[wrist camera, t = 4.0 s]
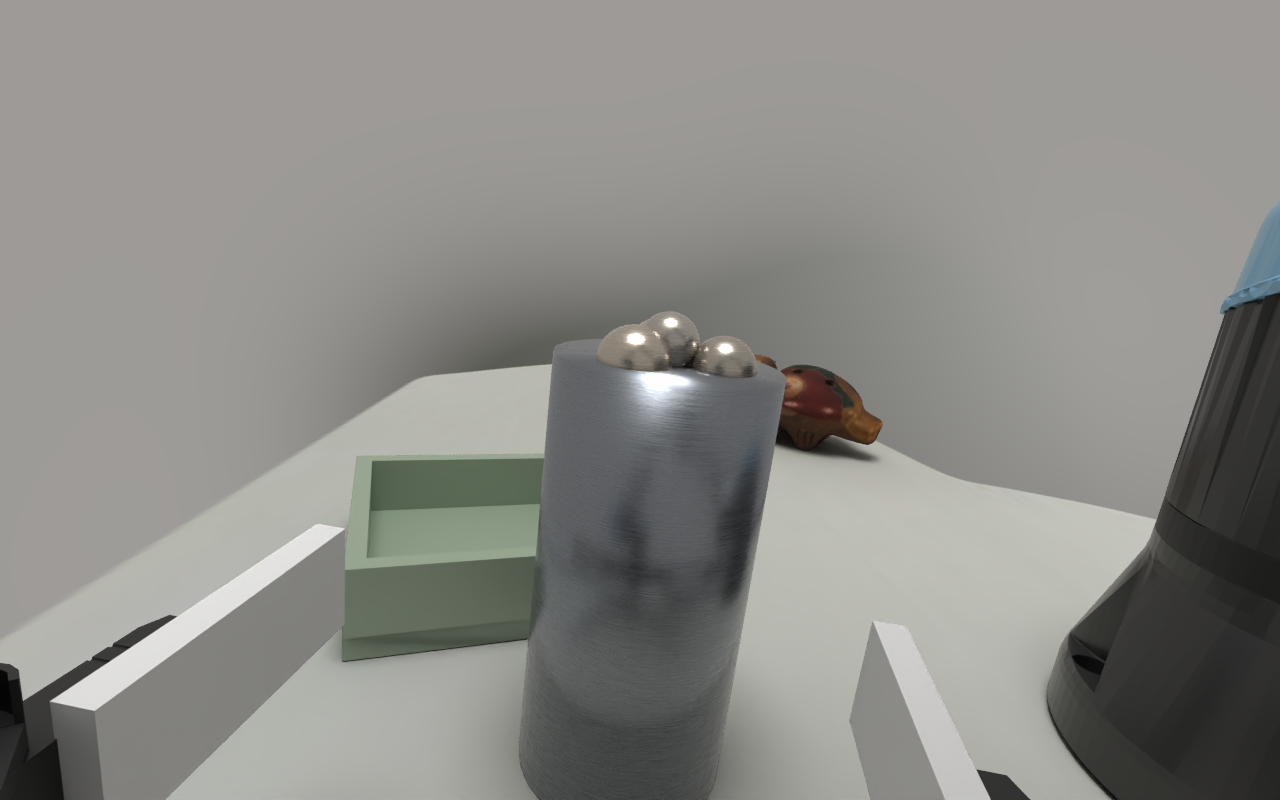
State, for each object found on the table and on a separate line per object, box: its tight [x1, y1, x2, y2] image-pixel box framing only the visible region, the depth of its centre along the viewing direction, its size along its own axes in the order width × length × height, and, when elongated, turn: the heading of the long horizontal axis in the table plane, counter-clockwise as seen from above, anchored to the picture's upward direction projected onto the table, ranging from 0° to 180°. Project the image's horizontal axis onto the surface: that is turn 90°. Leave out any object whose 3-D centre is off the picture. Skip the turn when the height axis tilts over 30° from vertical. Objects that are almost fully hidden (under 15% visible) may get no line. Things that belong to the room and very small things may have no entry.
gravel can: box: [519, 312, 786, 800], centre depth 21 cm, size 7×7×16 cm
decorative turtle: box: [754, 355, 882, 451], centre depth 63 cm, size 10×15×8 cm, turn 61°
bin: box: [342, 454, 544, 661], centre depth 33 cm, size 13×13×4 cm
